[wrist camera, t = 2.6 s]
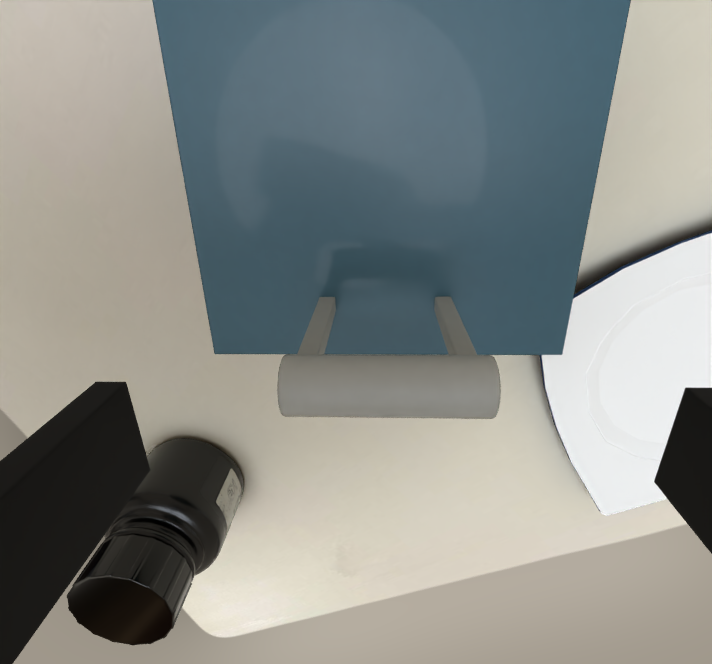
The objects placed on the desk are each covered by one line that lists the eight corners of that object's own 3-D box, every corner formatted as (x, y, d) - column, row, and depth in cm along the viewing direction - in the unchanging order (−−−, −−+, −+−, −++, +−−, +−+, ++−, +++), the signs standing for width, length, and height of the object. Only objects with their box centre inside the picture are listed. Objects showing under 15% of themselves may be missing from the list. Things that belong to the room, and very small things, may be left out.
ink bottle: (210, 530, 40) (147, 674, 29) (127, 482, 38) (26, 617, 28) (267, 469, 37) (219, 606, 26) (179, 414, 35) (88, 537, 24)
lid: (554, 345, 20) (670, 481, 12) (221, 345, 21) (123, 470, 13) (661, -243, 12) (1181, -955, 4) (130, -203, 13) (-252, -733, 5)
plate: (852, 425, 32) (891, 448, 30) (579, 502, 37) (593, 528, 34) (842, 164, 25) (892, 166, 23) (506, 299, 30) (517, 313, 27)
